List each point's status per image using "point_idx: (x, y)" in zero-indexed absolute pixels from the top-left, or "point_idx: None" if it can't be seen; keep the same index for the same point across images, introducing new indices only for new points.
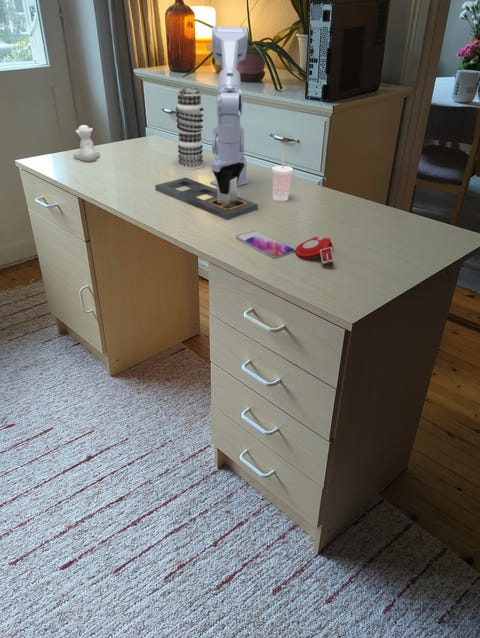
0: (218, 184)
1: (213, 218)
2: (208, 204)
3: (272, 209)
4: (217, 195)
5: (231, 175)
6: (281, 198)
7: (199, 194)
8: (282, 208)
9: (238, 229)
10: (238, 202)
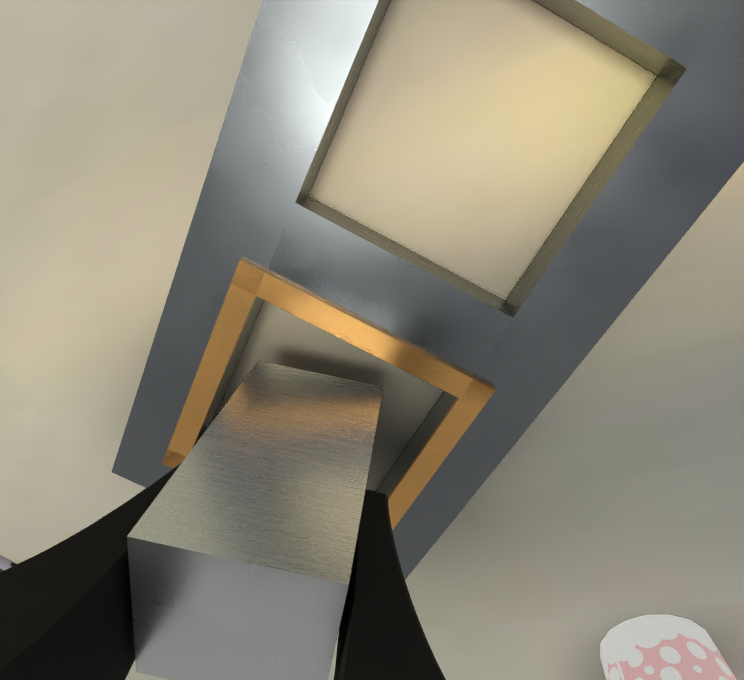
0: (121, 508)
1: (101, 365)
2: (212, 290)
3: (427, 629)
4: (232, 396)
5: (340, 659)
6: (605, 674)
7: (580, 24)
8: (464, 667)
9: (53, 528)
10: (398, 476)
